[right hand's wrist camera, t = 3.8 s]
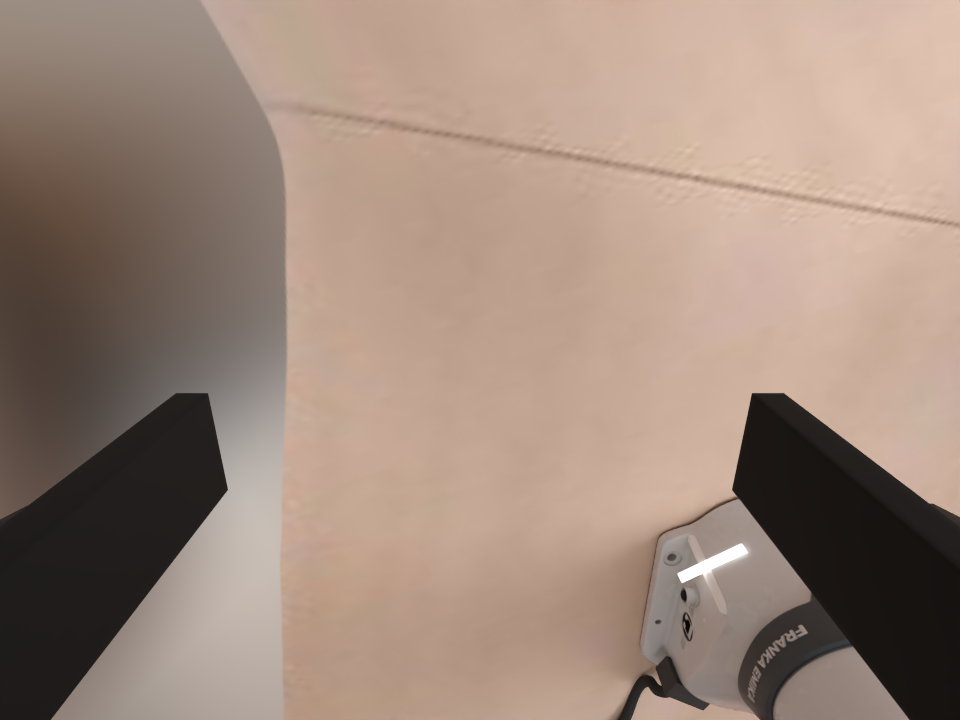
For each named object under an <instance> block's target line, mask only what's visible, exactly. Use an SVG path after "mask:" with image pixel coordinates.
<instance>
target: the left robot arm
mask: <svg viewBox="0 0 960 720" xmlns="http://www.w3.org/2000/svg"><path fill="white" fill-rule="evenodd" d="M670 554H672V555H670ZM668 555H670V556H668ZM640 649H641V651H642V653H643V655H644V656H645V657H646V658H647V659H648V660H649V661H651V662H652V663H654V664H655V665H657V666H656V670H657V673H658V676H659V679H660V682H661V685H662V686H660V685H659V684H658V683H657V682H656V680H655V679H654V678H653V677H652V676H649V675H646V676H643V677H641V678H639V679H638V680H637V682H636V683H635V685H634V686H633V688H632V690H631V692H630V695H629V697H628V700H627V702H626V705H625V708H624V710H623V713H622V715H621V717H620V719H619V720H631V718H632V715H633V713H634V710H635V707H636V704H637V701H638V699H639V696H640V694H641V693H642V691H643V690H644V689H645V688H646V687H649V688H650V690H651V691H652V692H653V693H654V694H655V695H657V696H659V697H663V698H667V697H671V698H673V699H676V700H678V701H681V702H683V703H686V704H688V705H691V706H693V707H696V708H698V709H701V710H704V709H705V708H706V707H707V706H708V705H709V704H712V705H715V706H719V707H723V708H727V709H732V710H737V711H742V712H747V713H753V714H755V715H756V716H757V717H758V718H759V719H760V720H909V719H908V717H907V716H906V715H905V713H904V712H903V711H902V710H901V708H900V707H899V706H898V704H897V703H896V702H895V701H894V699H893V698H892V697H891V695H890V694H889V693H888V691H887V690H886V689H885V688H884V686H883V685H882V684H881V682H880V681H879V680H878V678H877V677H876V676H875V675H874V673H873V672H872V671H871V669H870V668H869V667H868V665H867V664H866V663H865V662H864V660H863V659H862V658H861V656H860V655H859V654H858V652H857V651H856V650H855V649H854V647H853V646H852V645H851V643H850V642H849V641H848V640H847V638H846V637H845V636H844V634H843V633H842V632H841V630H840V629H839V628H838V627H837V625H836V624H835V623H834V621H833V620H832V619H831V617H830V616H829V615H828V614H827V612H826V611H825V610H824V608H823V607H822V606H821V604H820V603H819V602H818V601H817V599H816V598H815V597H814V595H813V594H812V593H811V592H810V590H809V589H808V588H807V586H806V585H805V584H804V582H803V581H802V580H801V579H800V577H799V576H798V575H797V573H796V572H795V571H794V569H793V568H792V567H791V566H790V564H789V563H788V562H787V560H786V559H785V558H784V556H783V555H782V554H781V553H780V551H779V550H778V549H777V547H776V546H775V545H774V543H773V542H772V541H771V540H770V538H769V537H768V536H767V534H766V533H765V532H764V531H763V529H762V528H761V527H760V525H759V524H758V523H757V521H756V520H755V519H754V518H753V516H752V515H751V514H750V512H749V511H748V510H747V508H746V507H745V506H744V505H743V503H742V502H741V501H740V499H736V500H733V501H731V502H728V503H726V504H724V505H721V506H720V507H718V508H716V509H714V510H712V511H711V512H709V513H708V514H706V515H705V516H704V517H702V518H701V519H699V520H698V521H696V522H694V523H692V524H690V525H687V526H683V527H680V528H676V529H673V530H671V531H668V532H666V533H664V534H663V535H662V536H661V537H660V538H659V540H658V543H657V548H656V554H655V560H654V565H653V571H652V577H651V582H650V588H649V594H648V599H647V605H646V611H645V617H644V622H643V628H642V634H641V640H640Z"/></svg>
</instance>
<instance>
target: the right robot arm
mask: <svg viewBox="0 0 960 720" xmlns="http://www.w3.org/2000/svg"><path fill="white" fill-rule="evenodd" d="M227 490H228V488H227V483H226V478H225V474H224V469H223V464H222V459H221V454H220V450H219V445H218V440H217V435H216V430H215V425H214V420H213V416H212V411H211V406H210V401H209V396H208V393H176V394H175V395H173V396H172V397H171V398H169V399H168V400H167V401H165V402H164V403H163V404H161V405H160V406H159V407H157V408H156V409H155V410H154V411H152V412H151V413H150V414H148V415H147V416H146V417H144V418H143V419H142V420H140V421H139V422H138V423H136V424H135V425H134V426H132V427H131V428H130V429H129V430H127V431H126V432H125V433H123V434H122V435H121V436H119V437H118V438H117V439H115V440H114V441H113V442H111V443H110V444H109V445H107V446H106V447H105V448H103V449H102V450H101V451H100V452H98V453H97V454H96V455H94V456H93V457H92V458H90V459H89V460H88V461H86V462H85V463H84V464H82V465H81V466H80V467H78V468H77V469H76V470H75V471H73V472H72V473H71V474H69V475H68V476H67V477H65V478H64V479H63V480H61V481H60V482H59V483H57V484H56V485H55V486H53V487H52V488H51V489H49V490H48V491H47V492H46V493H44V494H43V495H42V496H40V497H39V498H38V499H36V500H35V501H34V502H32V503H31V504H30V505H28V506H26V507H24V508H22V509H20V510H18V511H16V512H14V513H12V514H10V515H8V516H6V517H4V518H2V519H0V720H51V719H52V717H53V716H54V715H55V713H56V712H57V711H58V710H59V708H60V707H61V706H62V704H63V703H64V702H65V701H66V699H67V698H68V697H69V695H70V694H71V693H72V691H73V690H74V689H75V687H76V686H77V685H78V684H79V682H80V681H81V680H82V678H83V677H84V676H85V675H86V673H87V672H88V671H89V669H90V668H91V667H92V665H93V664H94V663H95V662H96V660H97V659H98V658H99V656H100V655H101V654H102V652H103V651H104V650H105V648H106V647H107V646H108V645H109V643H110V642H111V641H112V639H113V638H114V637H115V636H116V634H117V633H118V632H119V630H120V629H121V628H122V627H123V625H124V624H125V623H126V621H127V620H128V619H129V617H130V616H131V615H132V614H133V612H134V611H135V610H136V608H137V607H138V606H139V604H140V603H141V602H142V601H143V599H144V598H145V597H146V595H147V594H148V593H149V592H150V590H151V589H152V588H153V586H154V585H155V584H156V582H157V581H158V580H159V578H160V577H161V576H162V575H163V573H164V572H165V571H166V569H167V568H168V567H169V566H170V564H171V563H172V562H173V560H174V559H175V558H176V556H177V555H178V554H179V553H180V551H181V550H182V549H183V547H184V546H185V545H186V543H187V542H188V541H189V540H190V538H191V537H192V536H193V534H194V533H195V532H196V530H197V529H198V528H199V527H200V525H201V524H202V523H203V521H204V520H205V519H206V518H207V516H208V515H209V514H210V512H211V511H212V510H213V508H214V507H215V506H216V505H217V503H218V502H219V501H220V499H221V498H222V497H223V495H224V494H225V493H226V492H227ZM732 490H733V492H734V493H735V494H736V495H737V497H738V498H739V499H740V501H741V502H742V503H743V505H744V506H745V507H746V508H747V510H748V511H749V512H750V514H751V515H752V516H753V518H754V519H755V520H756V521H757V523H758V524H759V525H760V527H761V528H762V529H763V531H764V532H765V533H766V534H767V536H768V537H769V538H770V540H771V541H772V542H773V543H774V545H775V546H776V547H777V549H778V550H779V551H780V553H781V554H782V555H783V556H784V558H785V559H786V560H787V562H788V563H789V564H790V566H791V567H792V568H793V569H794V571H795V572H796V573H797V575H798V576H799V577H800V579H801V580H802V581H803V582H804V584H805V585H806V586H807V588H808V589H809V590H810V592H811V593H812V594H813V595H814V597H815V598H816V599H817V601H818V602H819V603H820V604H821V606H822V607H823V608H824V610H825V611H826V612H827V614H828V615H829V616H830V617H831V619H832V620H833V621H834V623H835V624H836V625H837V627H838V628H839V629H840V630H841V632H842V633H843V634H844V636H845V637H846V638H847V640H848V641H849V642H850V643H851V645H852V646H853V647H854V649H855V650H856V651H857V652H858V654H859V655H860V656H861V658H862V659H863V660H864V662H865V663H866V664H867V665H868V667H869V668H870V669H871V671H872V672H873V673H874V675H875V676H876V677H877V678H878V680H879V681H880V682H881V684H882V685H883V686H884V688H885V689H886V690H887V691H888V693H889V694H890V695H891V697H892V698H893V699H894V701H895V702H896V703H897V704H898V706H899V707H900V708H901V710H902V711H903V712H904V713H905V715H906V716H907V717H908V719H909V720H960V517H958V516H956V515H954V514H952V513H950V512H948V511H946V510H944V509H942V508H940V507H939V506H937V505H935V504H929V503H928V502H926V501H925V500H924V499H922V498H921V497H920V496H918V495H917V494H916V493H914V492H913V491H912V490H911V489H909V488H908V487H907V486H905V485H904V484H903V483H901V482H900V481H899V480H897V479H896V478H895V477H893V476H892V475H891V474H889V473H888V472H887V471H885V470H884V469H883V468H882V467H880V466H879V465H878V464H876V463H875V462H874V461H872V460H871V459H870V458H868V457H867V456H866V455H864V454H863V453H862V452H860V451H859V450H858V449H857V448H855V447H854V446H853V445H851V444H850V443H849V442H847V441H846V440H845V439H843V438H842V437H841V436H839V435H838V434H837V433H835V432H834V431H833V430H831V429H830V428H829V427H828V426H826V425H825V424H824V423H822V422H821V421H820V420H818V419H817V418H816V417H814V416H813V415H812V414H810V413H809V412H808V411H806V410H805V409H804V408H803V407H801V406H800V405H799V404H797V403H796V402H795V401H793V400H792V399H791V398H789V397H788V396H787V395H785V394H784V393H752V396H751V401H750V406H749V411H748V416H747V420H746V425H745V430H744V435H743V440H742V445H741V449H740V454H739V459H738V464H737V469H736V474H735V478H734V483H733V488H732Z"/></svg>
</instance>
